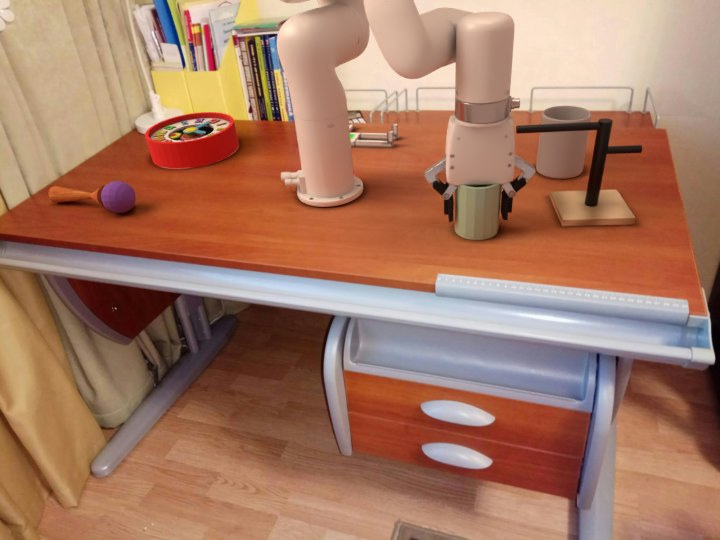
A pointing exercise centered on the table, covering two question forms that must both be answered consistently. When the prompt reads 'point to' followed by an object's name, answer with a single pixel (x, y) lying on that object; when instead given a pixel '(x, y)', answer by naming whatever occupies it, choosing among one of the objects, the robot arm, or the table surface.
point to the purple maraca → (99, 196)
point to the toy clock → (192, 140)
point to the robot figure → (374, 138)
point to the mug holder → (590, 180)
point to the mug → (562, 143)
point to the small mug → (477, 211)
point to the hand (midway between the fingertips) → (477, 216)
